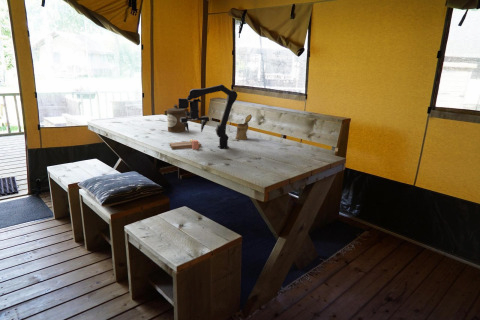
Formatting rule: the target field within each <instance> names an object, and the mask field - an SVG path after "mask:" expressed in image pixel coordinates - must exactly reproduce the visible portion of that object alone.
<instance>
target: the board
mask: <svg viewBox="0 0 480 320" xmlns="http://www.w3.org/2000/svg"><path fill="white" fill-rule="evenodd" d="M169 147H170V148H171V150H180V149H190V148H191V149H192V142H191V141H190V140H189V141H180V142H179V141H178V142H169ZM198 147H199V148H202V143H201V142H199V141H198Z"/></svg>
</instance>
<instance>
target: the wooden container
mask: <svg viewBox="0 0 480 320" xmlns="http://www.w3.org/2000/svg"><path fill="white" fill-rule="evenodd" d="M166 115H167V116H166V117H167V121H166V122H167V131H168V132H170V133H183V132H186V131H187V129H186V126H185V125H184V124H183V123H181V122H180V117H186V109H179V108H178V104H174V105H173V107H172V108H171V107H170V108H167V109H166Z"/></svg>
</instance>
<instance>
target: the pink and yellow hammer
mask: <svg viewBox="0 0 480 320" xmlns="http://www.w3.org/2000/svg"><path fill="white" fill-rule="evenodd" d="M189 141H191V142H192V148H191V149H193V150H199V148H200V147H198V142H199V140H198V139H189Z"/></svg>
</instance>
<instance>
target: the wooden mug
mask: <svg viewBox="0 0 480 320" xmlns="http://www.w3.org/2000/svg"><path fill="white" fill-rule="evenodd" d="M252 117H253V116H252V114H249V115H246V117H245V120H244V122H243V123H237V126H236V135H235V139H236V140H239V141H242V140H243V141H244V140H247V139H248V135H247V132H248V130H249V122H250V121H252Z"/></svg>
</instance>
